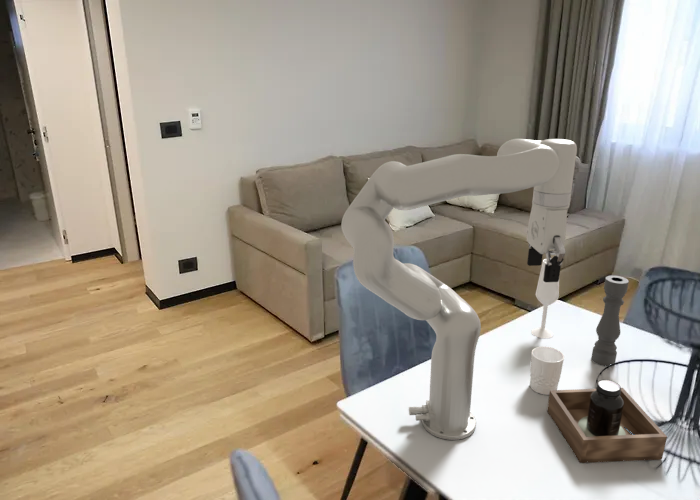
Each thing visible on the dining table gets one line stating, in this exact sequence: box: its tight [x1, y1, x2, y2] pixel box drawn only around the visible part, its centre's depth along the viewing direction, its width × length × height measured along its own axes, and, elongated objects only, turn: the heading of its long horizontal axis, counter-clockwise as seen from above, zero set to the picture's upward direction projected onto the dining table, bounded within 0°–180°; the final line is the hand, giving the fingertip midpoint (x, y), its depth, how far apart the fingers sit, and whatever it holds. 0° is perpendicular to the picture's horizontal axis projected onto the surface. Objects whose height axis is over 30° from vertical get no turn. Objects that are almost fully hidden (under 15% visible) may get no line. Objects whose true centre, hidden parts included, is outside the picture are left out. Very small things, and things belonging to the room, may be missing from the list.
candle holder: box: [590, 275, 629, 367], centre depth 151 cm, size 6×6×25 cm
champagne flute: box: [530, 258, 560, 339], centre depth 167 cm, size 7×7×24 cm
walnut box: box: [546, 387, 668, 464], centre depth 125 cm, size 18×18×6 cm
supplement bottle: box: [586, 379, 624, 436], centre depth 123 cm, size 7×7×12 cm
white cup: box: [529, 346, 565, 396], centre depth 142 cm, size 8×8×10 cm
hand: (542, 273), depth 122 cm, fingers open, 9 cm apart
